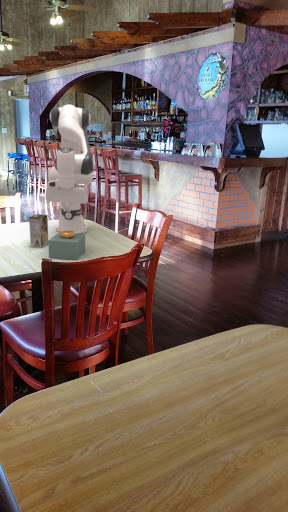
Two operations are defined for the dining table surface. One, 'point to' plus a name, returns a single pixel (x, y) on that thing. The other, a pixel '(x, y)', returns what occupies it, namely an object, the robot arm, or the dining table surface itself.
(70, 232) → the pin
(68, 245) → the block
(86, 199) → the robot arm
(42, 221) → the coffee box
